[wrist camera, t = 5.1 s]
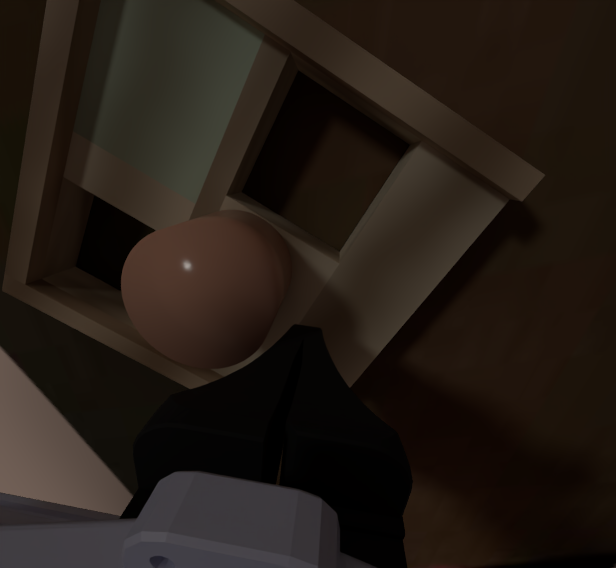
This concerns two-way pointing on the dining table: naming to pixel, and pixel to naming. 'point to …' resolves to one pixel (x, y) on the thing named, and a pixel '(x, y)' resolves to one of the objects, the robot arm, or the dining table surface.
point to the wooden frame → (235, 166)
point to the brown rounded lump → (207, 287)
